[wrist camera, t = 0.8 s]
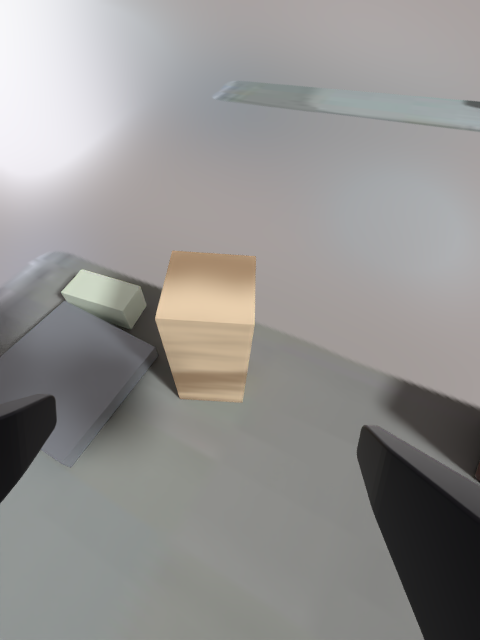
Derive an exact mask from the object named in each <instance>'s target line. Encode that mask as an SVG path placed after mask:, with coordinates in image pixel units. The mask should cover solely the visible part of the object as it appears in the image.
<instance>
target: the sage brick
mask: <svg viewBox="0 0 480 640" xmlns="http://www.w3.org/2000/svg"><path fill="white" fill-rule="evenodd" d="M61 293H62V295H63V296H64V298H65V299H66V301H67V302H69V303H71V304H72V305H74V306H76V307H78V308H80V309H82V310H84V311H86V312H88V313H90V314H92V315H94V316H96V317H98V318H100V319H102V320H104V321H106V322H108V323H111V324H114V325H117V326H121V327H124V328H127V329H130V330H131V329H132V327H133V326H134V324H135V323H136V321H137V320H138V318H139V317H140V315H141V314H142V312H143V311H144V309H145V307H146V306H147V305H146V302H145V299H144V296H143V293H142V290H141V287H140V286H138V285H134V284H131V283H128V282H124V281H121V280H117V279H114V278H110V277H107V276H103V275H100V274H96V273H93V272H89V271H86V270H82V269H81V271H80V272H79V273H78V274H77V275H76V276H75V277H74V278H73V279H72V281H71V282H70V283H69V284H68V285H67V286H66V287H65V288H64V290H63V291H62V292H61Z"/></svg>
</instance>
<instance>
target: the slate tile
mask: <svg viewBox="0 0 480 640" xmlns="http://www.w3.org/2000/svg"><path fill="white" fill-rule="evenodd" d="M157 357H158V353H157V350H156V348H155V347H154V346H152V345H150V344H148V343H146V342H144V341H143V340H141V339H139V338H137V337H135V336H133V335H131V334H129V333H127V332H125V331H123V330H121V329H119V328H117V327H115V326H113V325H111V324H109V323H108V322H106V321H104V320H102V319H100V318H98V317H96V316H94V315H92V314H90V313H88V312H86V311H84V310H82V309H80V308H78V307H76V306H74V305H72V304H71V303H69V302H67V301H63V302H62V303H61V304H60V305H59V306H58V307H57V308H55V309H54V310H53V311H52V312H51V313H50V314H49V315H47V316H46V317H45V318H44V319H43V320H42V321H41V322H39V323H38V324H37V325H36V326H35V327H34V328H33V329H31V330H30V331H29V332H28V333H27V334H26V335H25V336H23V337H22V338H21V339H20V340H19V341H18V342H17V343H15V344H14V345H13V346H12V347H11V348H10V349H9V350H7V351H6V352H5V353H4V354H3V355H2V356H1V357H0V404H2V403H6V402H10V401H13V400H17V399H20V398H24V397H28V396H31V395H35V394H50V395H53V396H54V397H55V400H56V414H57V423H56V426H55V429H54V430H53V432H52V433H51V435H50V436H49V438H48V439H47V441H46V442H45V444H44V445H43V447H42V448H41V450H42V451H44V452H45V453H46V454H48V455H49V456H51V457H52V458H54V459H55V460H57V461H58V462H60V463H61V464H63V465H66V466H68V467H70V468H71V467H72V465H73V464H74V463H75V462H76V460H77V459H78V458H79V457H80V455H81V454H82V453H83V451H84V450H85V449H86V448H87V446H88V445H89V444H90V442H91V441H92V440H93V439H94V437H95V436H96V435H97V434H98V432H99V431H100V430H101V428H102V427H103V426H104V425H105V423H106V422H107V421H108V419H109V418H110V417H111V416H112V414H113V413H114V412H115V411H116V409H117V408H118V407H119V405H120V404H121V403H122V402H123V400H124V399H125V398H126V397H127V395H128V394H129V393H130V391H131V390H132V389H133V388H134V386H135V385H136V384H137V382H138V381H139V380H140V379H141V377H142V376H143V375H144V374H145V372H146V371H147V370H148V368H149V367H150V366H151V365H152V363H153V362H154V361H155V359H156V358H157Z"/></svg>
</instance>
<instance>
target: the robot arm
mask: <svg viewBox="0 0 480 640" xmlns="http://www.w3.org/2000/svg"><path fill="white" fill-rule="evenodd" d="M56 423H57V414H56V400H55V397H54V396H53V395H50V394H35V395H31V396H28V397H24V398H20V399H17V400H13V401H10V402H6V403H2V404H0V503H1V502H2V501H3V500H4V498H5V497H6V496H7V495H8V493H9V492H10V491H11V490H12V488H13V487H14V486H15V485H16V484H17V482H18V481H19V480H20V478H21V477H22V476H23V474H24V473H25V472H26V470H27V469H28V467H29V466H30V464H31V463H32V461H33V460H34V458H35V457H36V455H37V454H38V453H39V451H40V450H41V448H42V447H43V445H44V444H45V442H46V441H47V439H48V438H49V436H50V435H51V433H52V432H53V430H54V429H55V426H56ZM357 458H358V462H359V465H360V469H361V472H362V476H363V479H364V483H365V486H366V490H367V493H368V497H369V500H370V503H371V506H372V510H373V512H374V515H375V518H376V520H377V523H378V525H379V528H380V530H381V533H382V535H383V538H384V540H385V543H386V545H387V548H388V550H389V553H390V555H391V558H392V560H393V562H394V565H395V567H396V570H397V572H398V575H399V577H400V580H401V582H402V585H403V587H404V590H405V592H406V595H407V597H408V600H409V602H410V605H411V607H412V610H413V612H414V615H415V617H416V620H417V622H418V625H419V627H420V629H421V632H422V634H423V637H424V639H425V640H480V485H478V484H476V483H475V482H473V481H471V480H469V479H468V478H466V477H464V476H463V475H461V474H459V473H457V472H456V471H454V470H452V469H451V468H449V467H447V466H445V465H444V464H442V463H440V462H439V461H437V460H435V459H434V458H432V457H430V456H428V455H427V454H425V453H423V452H422V451H420V450H418V449H416V448H415V447H413V446H411V445H410V444H408V443H406V442H405V441H403V440H401V439H399V438H398V437H396V436H394V435H393V434H391V433H389V432H387V431H386V430H384V429H382V428H381V427H379V426H373V425H364V426H363V427H362V429H361V433H360V437H359V442H358V447H357Z"/></svg>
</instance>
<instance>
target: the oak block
mask: <svg viewBox="0 0 480 640" xmlns="http://www.w3.org/2000/svg"><path fill="white" fill-rule="evenodd" d="M255 268H256V257H255V256H244V255H229V254H213V253H199V252H183V251H172V254H171V258H170V262H169V266H168V270H167V274H166V277H165V281H164V285H163V289H162V293H161V297H160V301H159V305H158V308H157V312H156V316H155V320H156V324H157V327H158V330H159V333H160V336H161V340H162V343H163V346H164V349H165V352H166V356H167V359H168V362H169V365H170V369H171V372H172V375H173V378H174V381H175V385H176V388H177V391H178V394H179V397H180V399H191V400H208V401H225V402H243V395H244V389H245V383H246V376H247V370H248V363H249V357H250V351H251V344H252V338H253V331H254V325H255V270H256V269H255Z"/></svg>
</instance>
